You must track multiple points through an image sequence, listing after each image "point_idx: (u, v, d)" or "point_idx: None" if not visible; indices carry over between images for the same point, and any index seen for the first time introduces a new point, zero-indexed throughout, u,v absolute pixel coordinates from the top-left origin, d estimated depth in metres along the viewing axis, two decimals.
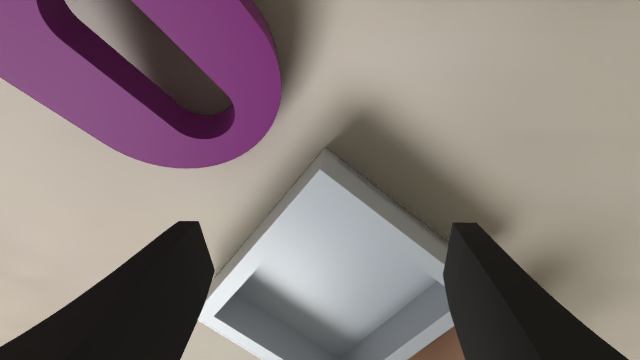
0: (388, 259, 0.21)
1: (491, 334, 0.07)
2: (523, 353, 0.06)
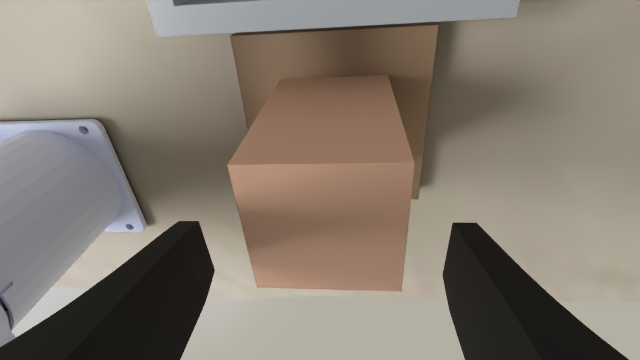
0: None
1: (491, 334, 0.07)
2: (523, 353, 0.06)
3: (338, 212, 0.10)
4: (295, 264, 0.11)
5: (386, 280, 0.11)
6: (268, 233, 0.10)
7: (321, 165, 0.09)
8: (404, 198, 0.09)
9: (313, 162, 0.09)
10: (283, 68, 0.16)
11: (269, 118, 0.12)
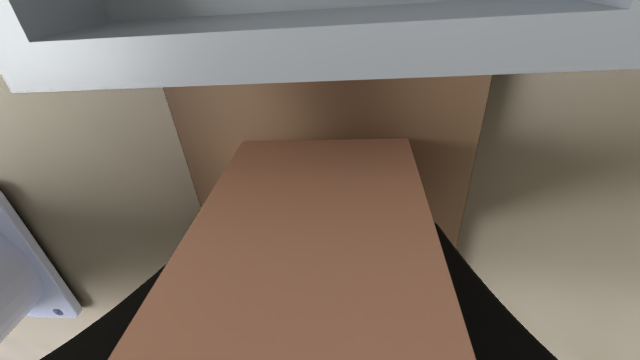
0: None
1: None
2: None
3: None
4: None
5: None
6: None
7: None
8: None
9: None
10: (246, 126, 0.10)
11: (198, 255, 0.06)
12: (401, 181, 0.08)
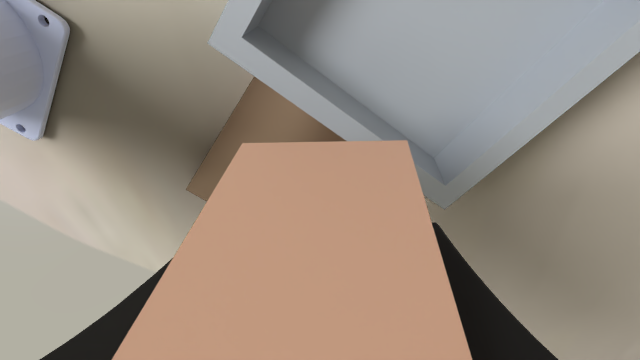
0: (456, 85, 0.16)
1: None
2: None
3: None
4: None
5: None
6: None
7: None
8: None
9: None
10: (282, 118, 0.17)
11: (198, 257, 0.06)
12: (400, 183, 0.08)
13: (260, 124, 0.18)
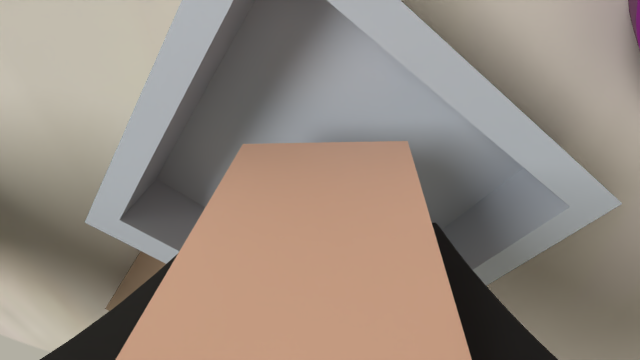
0: None
1: None
2: None
3: None
4: None
5: None
6: None
7: None
8: None
9: None
10: None
11: (199, 259, 0.06)
12: (401, 185, 0.08)
13: None
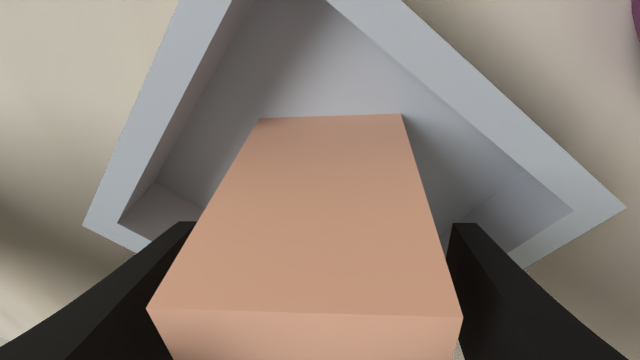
0: None
1: (491, 334, 0.07)
2: (523, 353, 0.06)
3: None
4: None
5: None
6: None
7: (302, 314, 0.05)
8: (441, 359, 0.06)
9: (288, 308, 0.05)
10: None
11: (233, 194, 0.08)
12: (393, 144, 0.10)
13: None
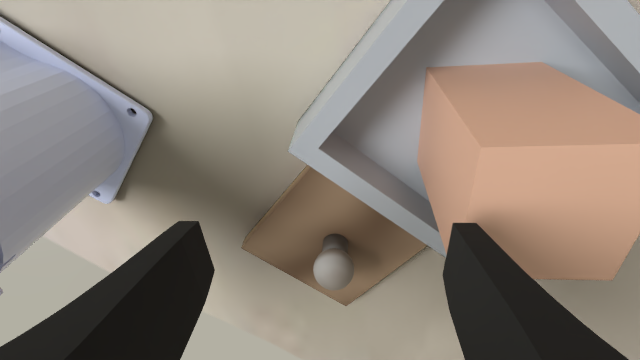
0: None
1: (491, 334, 0.07)
2: (523, 353, 0.06)
3: (581, 197, 0.09)
4: (507, 252, 0.11)
5: (601, 269, 0.11)
6: (493, 220, 0.10)
7: (586, 146, 0.09)
8: None
9: (576, 143, 0.09)
10: (336, 195, 0.20)
11: (466, 103, 0.12)
12: (556, 77, 0.13)
13: (316, 199, 0.20)
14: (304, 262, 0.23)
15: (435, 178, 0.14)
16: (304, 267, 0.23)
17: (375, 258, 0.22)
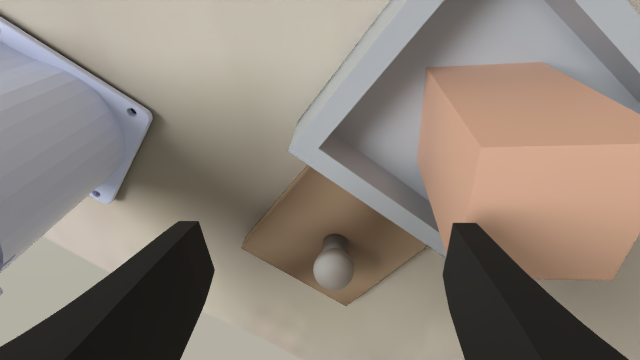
0: None
1: (491, 334, 0.07)
2: (523, 353, 0.06)
3: (581, 197, 0.09)
4: (507, 252, 0.11)
5: (601, 269, 0.11)
6: (493, 220, 0.10)
7: (586, 146, 0.09)
8: None
9: (576, 143, 0.09)
10: (336, 195, 0.20)
11: (466, 103, 0.12)
12: (556, 77, 0.13)
13: (316, 199, 0.20)
14: (304, 262, 0.23)
15: (435, 178, 0.14)
16: (304, 267, 0.23)
17: (375, 258, 0.22)
